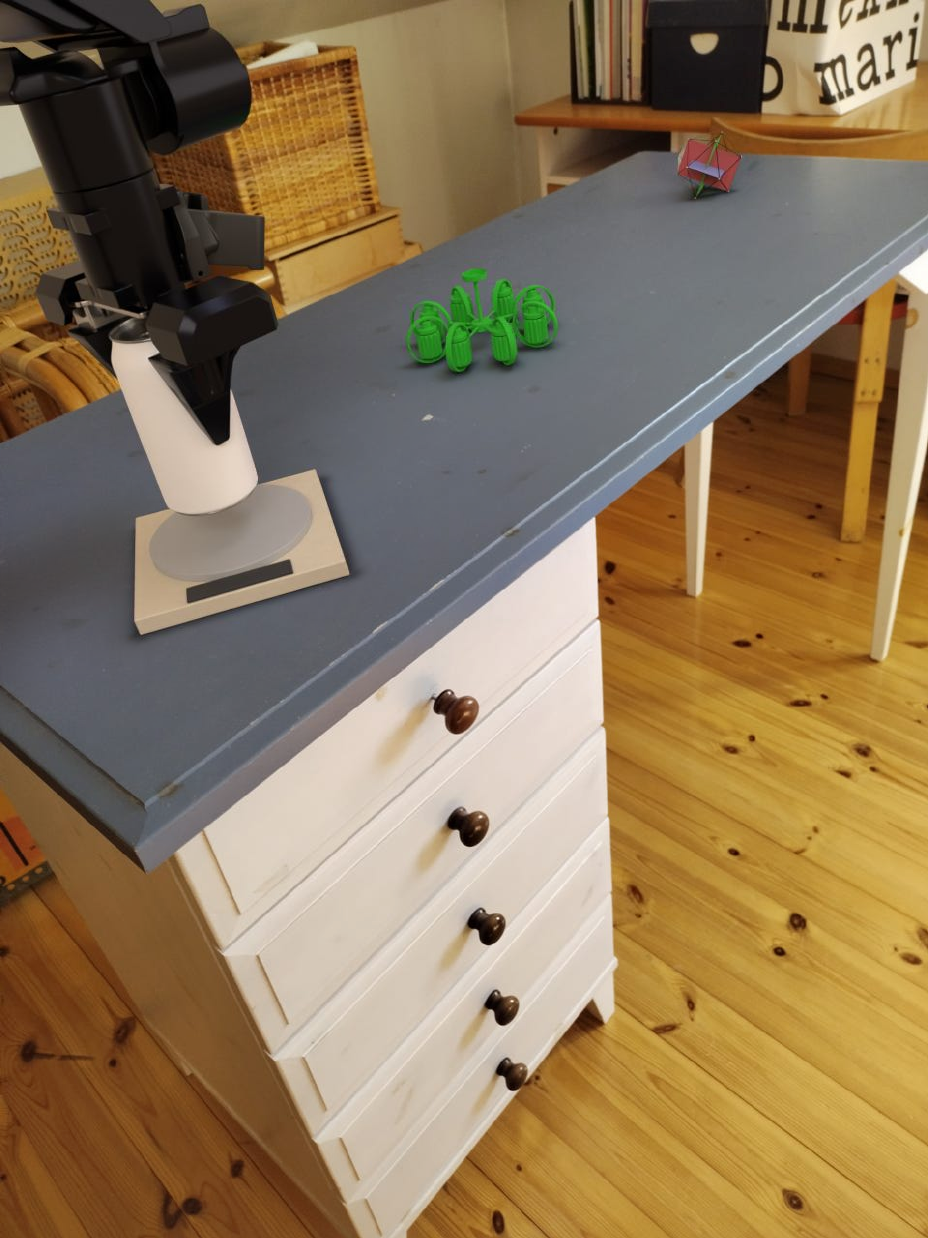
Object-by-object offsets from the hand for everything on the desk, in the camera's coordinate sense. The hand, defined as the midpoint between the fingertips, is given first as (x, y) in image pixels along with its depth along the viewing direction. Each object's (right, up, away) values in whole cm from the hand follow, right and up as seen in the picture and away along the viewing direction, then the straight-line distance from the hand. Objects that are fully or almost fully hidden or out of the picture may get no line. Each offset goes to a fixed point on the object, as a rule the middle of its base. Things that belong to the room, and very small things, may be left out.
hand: (193, 430), depth 62 cm
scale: (+2, -8, +5) cm, 9 cm away
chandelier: (+20, +14, +28) cm, 37 cm away
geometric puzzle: (+48, +40, +56) cm, 84 cm away
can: (+1, -4, +3) cm, 5 cm away
